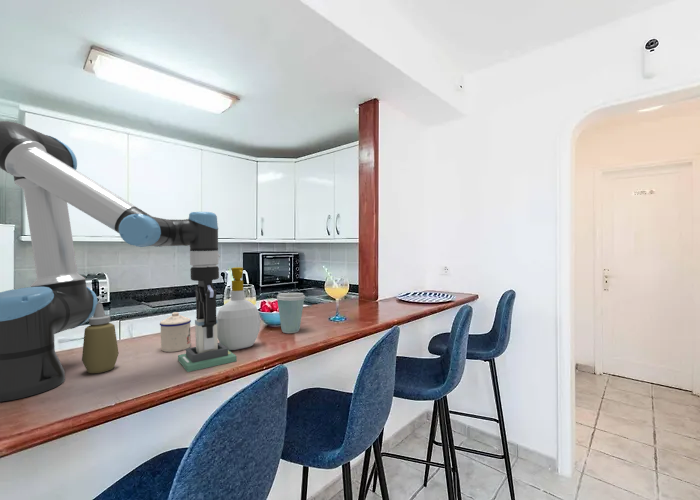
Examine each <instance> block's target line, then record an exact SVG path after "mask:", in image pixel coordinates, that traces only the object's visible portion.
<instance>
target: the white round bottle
mask: <svg viewBox="0 0 700 500" xmlns="http://www.w3.org/2000/svg"><path fill="white" fill-rule="evenodd" d="M231 275H232V279H233V280H231V290H230V300H228V301H227V302H225V304H224V303H223V305H222V306H221V307H220V309H218V312H217V313H216V319H217V338H218V343H221V344H222V345H224V346H225V347H226V348H228V350H229V351H237V350H243V349H248V348H250V347H252V346H253V345H255V343H256V340H257V337H258V335H259V332H260V328H261V318H260V316H261V315H260V312H259V309H258V307H257V306H256V305H255V304H254V303H252V302H251V301H249V300H247V299H245V289H244V280H242V278H243V275H244V267H239V266H238V267H237V266H236V267H232V268H231Z"/></svg>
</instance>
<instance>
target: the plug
mask: <svg viewBox="0 0 700 500" xmlns="http://www.w3.org/2000/svg"><path fill="white" fill-rule="evenodd" d="M216 322H217V319H216ZM202 325H204V319H198V320H197V319H195V320H194V326H195V327H194V331H195V336H194V337H195V347H196V352H197V353H203V352H208V351H213V350H218V343H219V340H218V338H217V323H216V325H214V348H213V349H208V350H204V341H203V327H202Z"/></svg>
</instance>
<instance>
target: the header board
mask: <svg viewBox="0 0 700 500" xmlns="http://www.w3.org/2000/svg"><path fill="white" fill-rule="evenodd" d="M177 361H178V362H179V363H180V365H182V367H183V369H184V370H185V371H186V372H187V373H188V372H189V373H190V372H193V371H194V372H195V371H197V370H198V371H199V370H203V369H207V368H208V369H209V368H212V367H216V366H222V365H225V364H230V363H235V362H237V355H236V354H235V353H233V352H232V351H231V350H228V348H226V347H225V346H224V345H222V344H221V343H220V342H218V350H213V351H208V352H203V353H197V352H196V346H194V347H189V348H187V349H185V353H183V354H177Z"/></svg>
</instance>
